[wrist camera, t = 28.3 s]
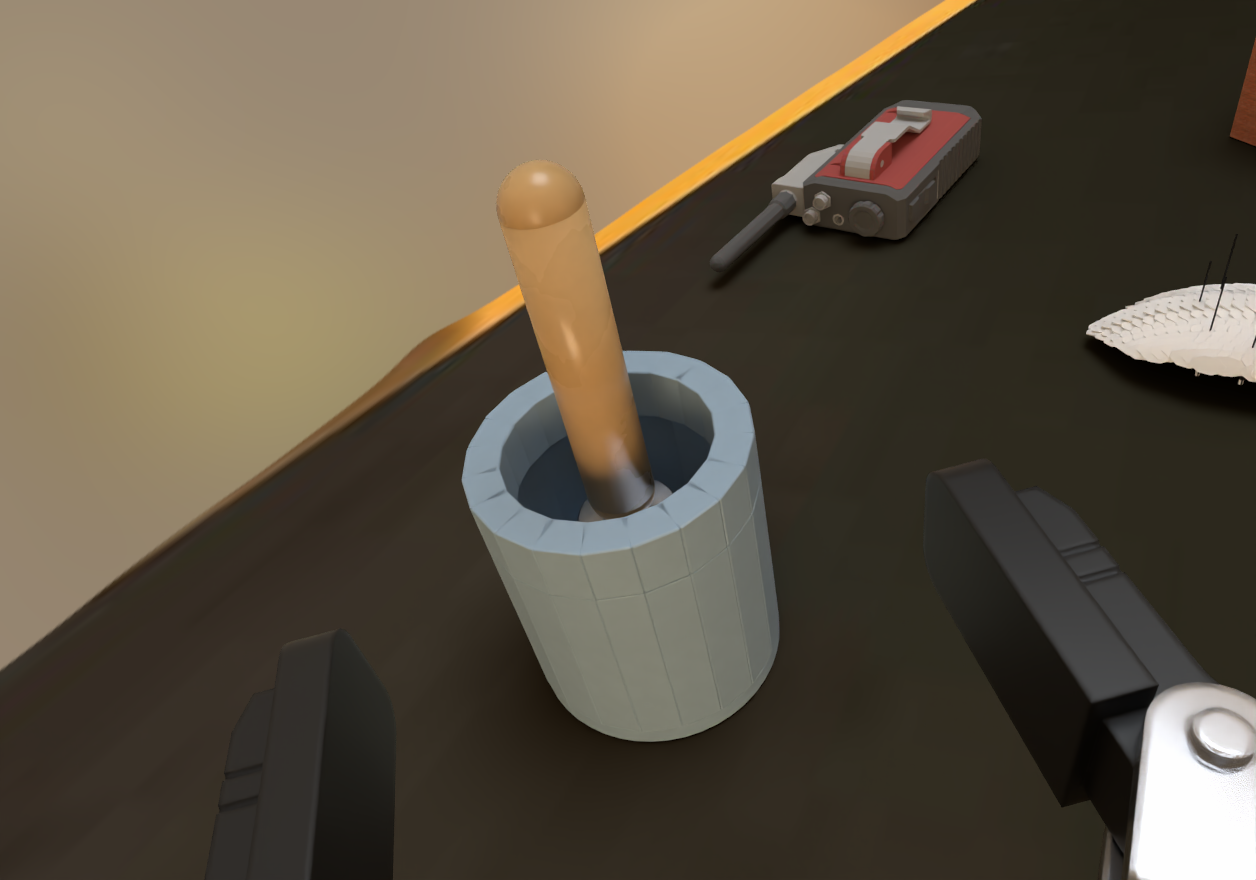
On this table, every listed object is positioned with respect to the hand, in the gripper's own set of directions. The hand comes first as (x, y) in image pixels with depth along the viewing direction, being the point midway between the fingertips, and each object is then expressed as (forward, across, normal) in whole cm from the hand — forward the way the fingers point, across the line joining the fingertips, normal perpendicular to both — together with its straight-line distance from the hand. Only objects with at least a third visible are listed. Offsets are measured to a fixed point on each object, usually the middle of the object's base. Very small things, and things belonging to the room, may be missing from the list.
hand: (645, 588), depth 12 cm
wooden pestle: (+13, 0, +17) cm, 21 cm away
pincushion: (+18, -27, +18) cm, 37 cm away
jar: (+13, 0, +18) cm, 22 cm away
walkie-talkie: (+39, -18, +18) cm, 46 cm away
